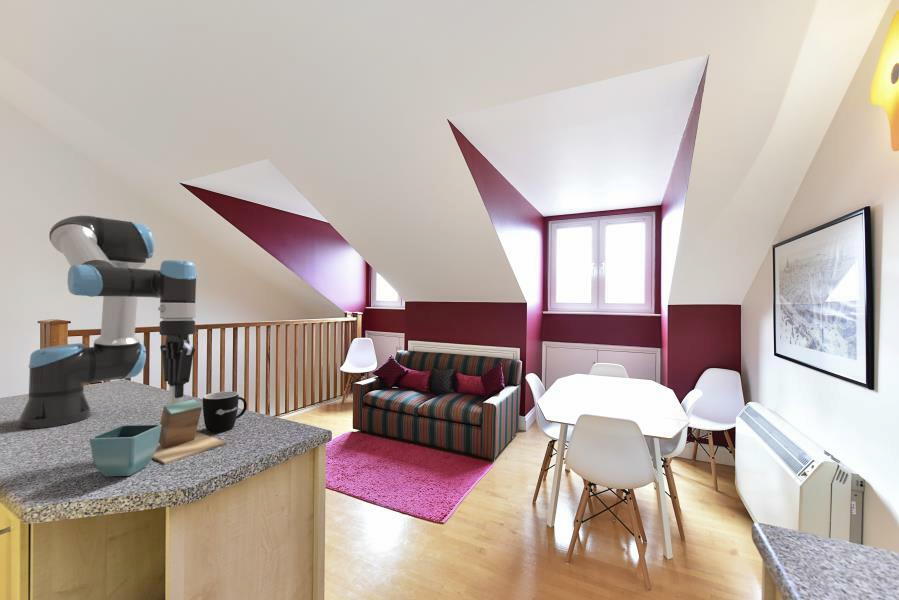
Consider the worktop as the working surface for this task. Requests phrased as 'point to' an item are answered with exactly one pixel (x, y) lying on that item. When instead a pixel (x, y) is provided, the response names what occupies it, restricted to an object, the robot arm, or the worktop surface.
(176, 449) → the mat
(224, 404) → the mug
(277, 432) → the worktop surface
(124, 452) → the flower pot
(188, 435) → the block
